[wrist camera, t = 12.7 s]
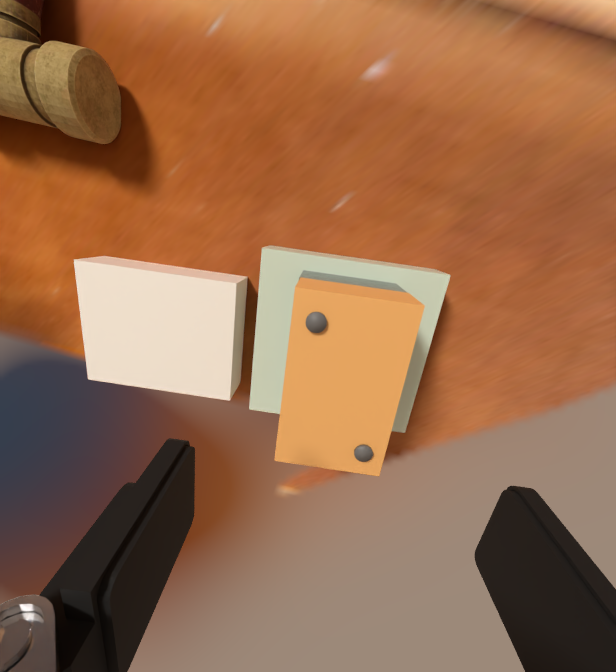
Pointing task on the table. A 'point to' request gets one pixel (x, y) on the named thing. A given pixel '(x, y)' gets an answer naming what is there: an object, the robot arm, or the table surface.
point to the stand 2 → (277, 306)
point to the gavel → (54, 79)
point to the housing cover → (344, 374)
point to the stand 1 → (162, 325)
